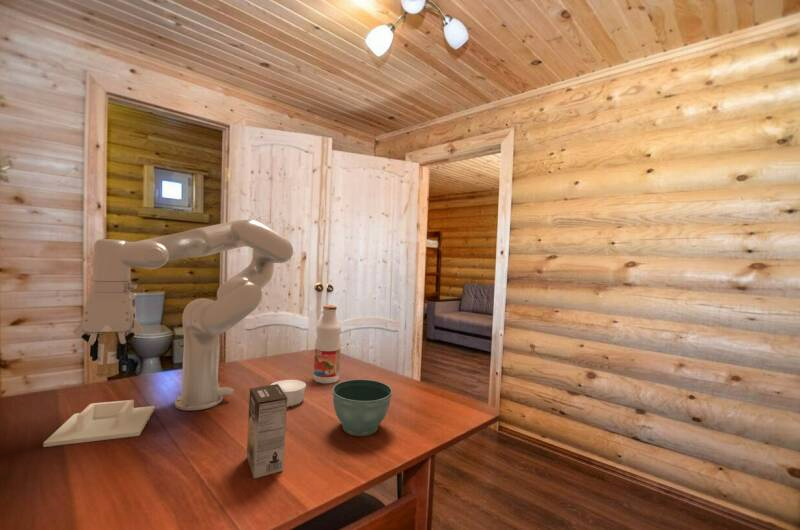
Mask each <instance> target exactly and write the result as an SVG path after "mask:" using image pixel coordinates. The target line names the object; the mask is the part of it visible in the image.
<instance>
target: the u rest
mask: <svg viewBox="0 0 800 530" xmlns="http://www.w3.org/2000/svg"><path fill="white" fill-rule="evenodd" d="M134 401H135V399H128V400H126V399H125V400H118V401H117V400H116V401H115V400H114V401H105V402H104V401H103V402H95V403H94V402H92V403H89V405H87V406H86V407H85V408H84V410H82V411H81V412H77V413H76V412H75V413H73V415H71V416H70V417H69V418H68V419H67V420H66V421H65V422H64V423H62V424H61V426H59V428H58V429H56V430H55V432H53V433H52V434H51V435H50V436H49V437H48V438H47V439H46V440H45V441H43V444H42V445H43V446H42V447H43V448H46V447H54V446H55V447H56V446H63V445H71V444H79V443H88V442H96V441H97V442H98V441H105V440H114V439H115V440H116V439H123V438H130V437H131V438H132V437H138V436H140V435H141V433H142V432H143V430H144V428H145V427H146V424H147V423H148V422H149V420H150V418H151V417H152V415H153V413H154V411H155V410H154V409H156V408H155V407H156V406H155V405H151V406H150V405H149V406H141V407H134V405H135V402H134ZM151 414H152V415H151ZM150 416H151V417H150ZM147 421H148V422H147Z"/></svg>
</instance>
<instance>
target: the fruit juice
mask: <svg viewBox="0 0 800 530" xmlns="http://www.w3.org/2000/svg"><path fill="white" fill-rule="evenodd" d="M337 309H338V308H337V305H331V304H330V305H329V304H326V305H323V314H322V318H321V319H320V321H319V323H318V324H317V325H316V336H317V337H316V340H315V344H314V345H315V346H314V362H313V363H314V365H313V380H314V382H316V383H318V382H319V384H333V382H334V383H336V382H338V380H340V379H339V378H340V369H341V368H340V366H341V365H340V363H341V349H342V348H341V346H342V343H341V338H340V336H341V332H342V326H341V324H340V322H339V321H338V318H337V314H336V313H337Z"/></svg>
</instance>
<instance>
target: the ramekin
mask: <svg viewBox="0 0 800 530" xmlns="http://www.w3.org/2000/svg"><path fill="white" fill-rule="evenodd" d="M275 384H278V385H279V386H280V388H281V389H282V391H283V392H284V394H285V395H286V396H287V408H290V407H289V406H291V407H295V406H298V405H299V404H300V403H302V402H303V400H304V397H305V390H306V389H307V384H306V382H304V381H302V380H298V379H284V380H278V381H275V382H272V383H271V384H270V385H275ZM297 404H298V405H297ZM294 405H295V406H294Z"/></svg>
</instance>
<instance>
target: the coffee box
mask: <svg viewBox="0 0 800 530" xmlns="http://www.w3.org/2000/svg"><path fill="white" fill-rule="evenodd" d="M248 400H249V402H248V421H247V422H248V423H247V446H246V459H247V462H248V465H249V468H250V471H251V474H252V477H253V479H258V478H262V477H265V476H269V475H272V474H273V475H274V474H276V473H277V474H278V473H280V472H283V471H284V467H285V465H284V463H285V445H286V430H287V429H286V427H287V410H288V407H287V396H286V395H285V394H284V392H283V391H282V389H281V388H280V386H279V385H278V384H275V385H271V384H270V385H269V384H268V385H263V386H257V387H250V388H249V399H248Z"/></svg>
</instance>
